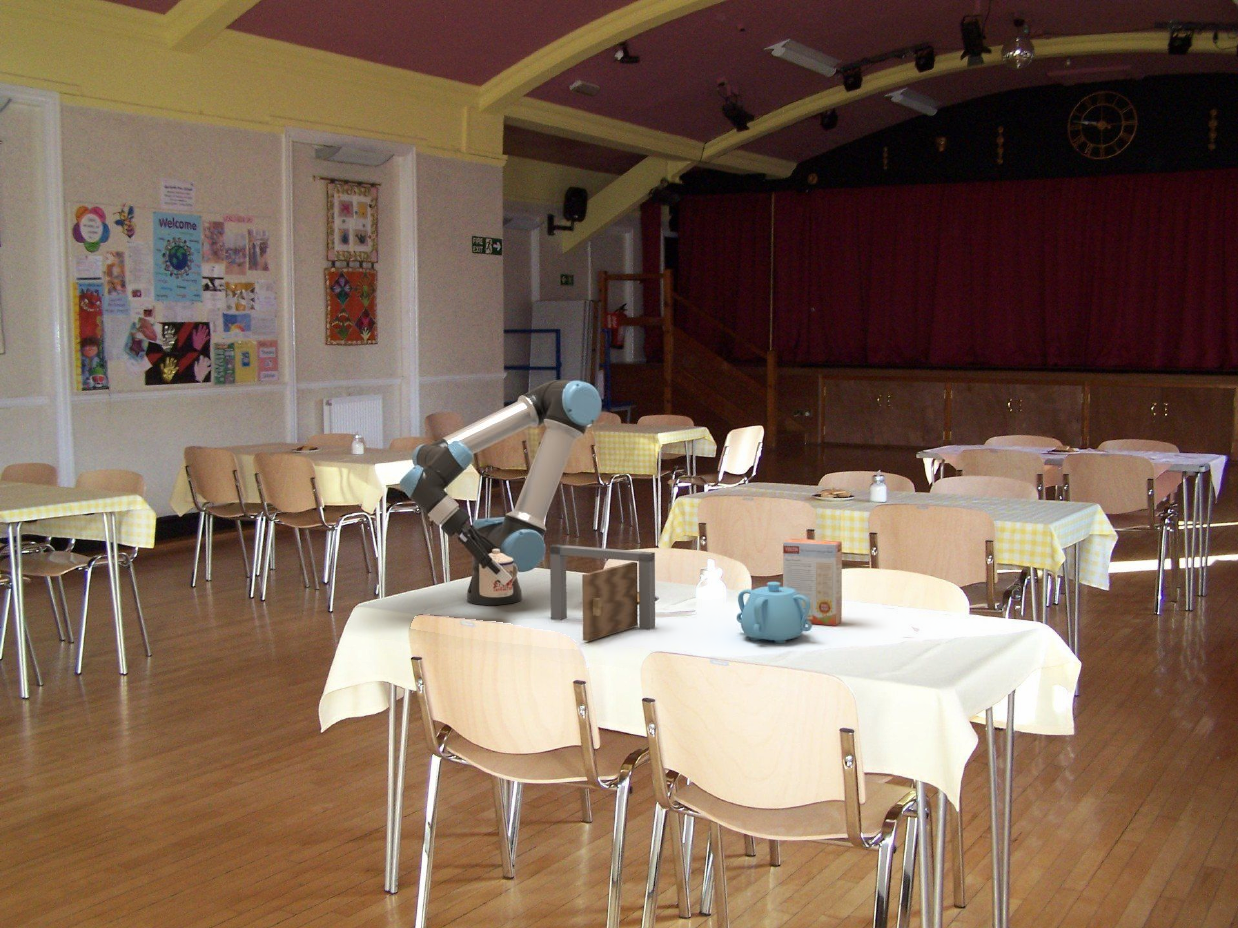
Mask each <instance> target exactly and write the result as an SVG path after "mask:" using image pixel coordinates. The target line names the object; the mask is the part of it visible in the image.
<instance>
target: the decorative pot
mask: <svg viewBox="0 0 1238 928" xmlns="http://www.w3.org/2000/svg"><path fill="white" fill-rule="evenodd" d="M766 585H767V586H761V587H757V588H754V589H749V588H748V589H747V588H746V589H744V590H742V591H740V592H739V594H738V596H737V602H738V607H739V609H740V610H739V611H740V612H738V613H737V615H736V621H737V622H738V623H740V628H741V630H742V631H743V633H744V634H745V636H746V637H749V638H750V640H751V641H761V640H768V641H774V643H775V644H786V643H787V642H786V641H787V640H791V639H794V638H797V637H799V636H801V634H802V633H803V632H809V631H811V630H812V628H813V624H812V623H811V622H810V621H809V620H806V619H807V617H808V614H809V611H810V601H809V599H808V598H807V597H805V596H803V595H798V593H797V591H796V590H795V589H792V588H788V587H783V586H781V582H778V581H769V582H767V583H766ZM746 594H749V595H748V598H747V599H746V602H745V601H744V596H745V595H746ZM800 599H801V600H803V601H804V602H805V605H806V607H805V611H804V607H803V604H802V602H801V600H800Z"/></svg>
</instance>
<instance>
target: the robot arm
mask: <svg viewBox="0 0 1238 928" xmlns="http://www.w3.org/2000/svg"><path fill="white" fill-rule="evenodd" d="M602 403H603V402H602V398H601V396H600V393H599V391H598V390H597V388H596V387H595V386H593V385H592V384H591V383H588V382H585V381H582V380H566V379H557V380H556V379H554V380H551V381H548V382H546V383H543V384H541V385H539V386H537V387H535V388H533V389H531V390H530V391H527V392H526V393H524V394H521V395H520V396H518V398H517V401H515V402H514V403H512V404H509V405H507V406H505V407H503V408H501V409H499V410H497V411H495V412H494V413H491V414H489V415H487V416H485V417H483V418H481V419H479V420H476V421H475V422H473V423H471V424H469V425H467V426H465V427H463V428H461V429H458V430H457V431H455V432H452V433H450V434H448V435H446V436H444V437H443V438H441V439H438V440H436V441H434V442H432V443H423V444H420V445H418V446H416V448H415V449H414V450H413V452H412V455H411V456H412V457H411V460H412V465H413V468H411V469H410V470H409V471H408V472H407V473H405V475H404V476H403V477H402V478H401V479H400V481H399V483H398V484H399V487H400V489H401V490H402V491H403V492H404V493H405V494H406V495H407V496H408V498H409V499H411V500H412V501H413V502H414V503H415V504H416V505H417V506H418V507H419V509H421V510H422V512H424V513H425V514H426V515H427V516H428V517H429V521H430V522H434V523H435V524H436V525H437V526H440V529H441V530H442V531H443V533H444V534H446V535H447V536H448V537H450V538H451V537H452V536H454V535H455V534H457V535H458V537H457V540H458V541H459V542H460V543H461V544H462V545H463V546H464V547H465V548H466V550H467V551H468V552H469V553H470V554H471V556H472V575H471V579H470V582H469V584H468V588H467V592H466V601H467V602H469V603H470V604H472V605H473V604H474V605H482V606H499V605H500V606H501V605H502V606H503V605H509V604H513V603H514V604H515V603H518V602H520V601H522V598H523V596H522V595H523V594H522V592H523V591H522V588H521V586H520V582H519V579H518V577H516V579H515V580H514V581H513V594H512V595H510V596H505V597H485V596H482V595H480V592H479V563H480V565H481V566H482V568H483V569H485V568H487V569H488V570H489V571H490V572H491V573H492V574H493V575H494V576H495V577H496V578H497V579H498V580H499V581H500V582H501V583H502V584H503V585H505V584H506V583H507V582H508V581H509V580H510V579H512V577H511V576H510V575H509V574H508V573H507V572H506V571H505V570H504V569H503V568H502V567H501V566H500V565H499V564H498V563H497V562H496V561H495V560H492V558H491V557H490V556H489V554H490V553H492V550H493V549H500V553H503V554H505V555H506V556H508V557H511V558H513V560H514V564H515V565H516V566H517V568H518V573H526V572H527V573H528V572H529V571H533V570H534V569H535V568H537V567H538V566H539V565H540V564H541V562H542V561H543V559H544V557H545V554H546V544H545V540H544V538H545V534H546V533H547V528H546V525H545V520H546V519H545V518H546V516H547V514H548V512H549V509H550V506H551V503H552V501H553V499H554V496H555V494H556V491H557V489H558V486H559V483H560V480H561V478H562V476H563V474H564V471H565V468H566V466H567V463H568V461H569V459H570V456H571V453H572V451H573V448H574V446H575V444H576V441H577V440H578V439H581V438H582V437H584V436H585V433H586V431H587V429H588V426H589V425H592V424H593V423H595V422H596V421H597V420H598V419H599V417H600V416H601V415H600V414H601V413H602ZM543 424H544V425H545V428H546V429H545V431H544V432H543V436H542V439H541V441H540V444H539V446H538V448H537V451H536V453H535V456H534V459H533V461H532V464H531V466H530V469H529V471H528V473H527V475H526V479H525V481H524V484H523V486H522V489H521V491H520V493H519V497H518V499H517V501H516V504H515V507H514V509H513V510H512V511H510V512H508V513H505V516H500V517H498V516H497V517H488V518H477V519H474V520H473V522H472V524H470V525H468V523H467V522H468V521H469V520H470V518H471V515H470V514H469V513H468V512H467V511H466V510H465V509H463V507H459V503H458V502H457V501H456V500H455V499H454V498H453V497H452V496H451V495H450V494H448V493H447V491H446V490H445V489H446V488H448V486H449V485H451V484H452V482H453V481H455V480H456V479H457V478H458V477H459V476H461V474H463V472H464V471H466V470H467V468H469V467H470V465H471V464H472V463H473V462H474V454H476V453H478V452H480V451H482V450H484V449H486V448H488V447H491V446H493V445H494V444H496V443H498V442H500V441H502V440H504V439H507V438H509V437H511V436H513V435H515V434H516V433H518V432H520V431H522V430H524V429H526V428H529V427H531V428H537V427H539V426H541V425H543ZM478 562H479V563H478Z"/></svg>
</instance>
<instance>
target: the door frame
mask: <svg viewBox="0 0 1238 928" xmlns="http://www.w3.org/2000/svg"><path fill="white" fill-rule="evenodd" d="M567 556H572V557H581V558H582V557H583V558H593V559H594V558H595V559H603V560H604V559H607V560H618V561H627V562H628V561H630V562H638V622H639V623H638V626H639V627H638V628H639V629H641V630H648V629H649V631H651V630H653V629H655V628H656V552H654V551H643V550H642V551H641V550H640V551H639V550H629V549H615V548H603V547H592V546H590V547H589V546H578V545H566V544H553V545H550V546H549V566H550V567H549V569H550V570H549V571H550V574H549V575H550V576H549V577H550V579H549V580H550V619H551V620H557V619H562V620H564V619H566V618H567V617H568V615H567V613H568V611H567V610H568V607H567V605H568V603H567V598H568V597H567V596H568V595H567ZM650 629H651V630H650Z"/></svg>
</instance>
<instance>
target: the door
mask: <svg viewBox="0 0 1238 928" xmlns="http://www.w3.org/2000/svg"><path fill="white" fill-rule="evenodd" d="M581 575H582V576H581V578H582V583H581V584H582V585H581V587H582V589H581V590H582V641H585V642H590V641H593V640H596V639H599V638H602V637H606V636H608V635H609V636H610V635H613V634H615V633H618V632H622V631H625V630H628V629H631V628H634V627H638V626H639V623H638V622H639V591H638V561H630V562H628V563H623V564H620V565H619V564H618V565H614V566H611V567H606V568H603V569H598V570H595V571H590V572H586V573H583V574H581Z"/></svg>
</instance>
